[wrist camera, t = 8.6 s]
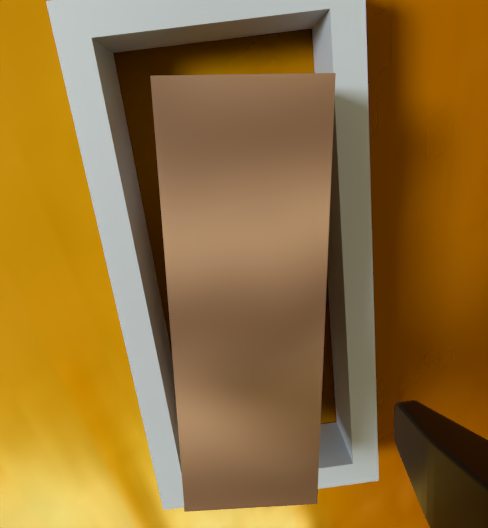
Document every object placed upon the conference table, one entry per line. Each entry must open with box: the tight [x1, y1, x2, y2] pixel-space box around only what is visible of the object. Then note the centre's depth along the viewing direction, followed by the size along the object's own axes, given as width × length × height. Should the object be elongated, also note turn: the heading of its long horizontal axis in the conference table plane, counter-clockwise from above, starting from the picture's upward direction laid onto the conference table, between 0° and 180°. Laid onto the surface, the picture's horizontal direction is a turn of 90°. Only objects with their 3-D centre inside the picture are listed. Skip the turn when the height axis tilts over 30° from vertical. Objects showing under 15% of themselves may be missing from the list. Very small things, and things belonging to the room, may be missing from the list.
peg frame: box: [46, 0, 379, 510], centre depth 19 cm, size 21×10×3 cm, turn 7°
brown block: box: [150, 73, 336, 511], centre depth 16 cm, size 15×5×4 cm, turn 1°
